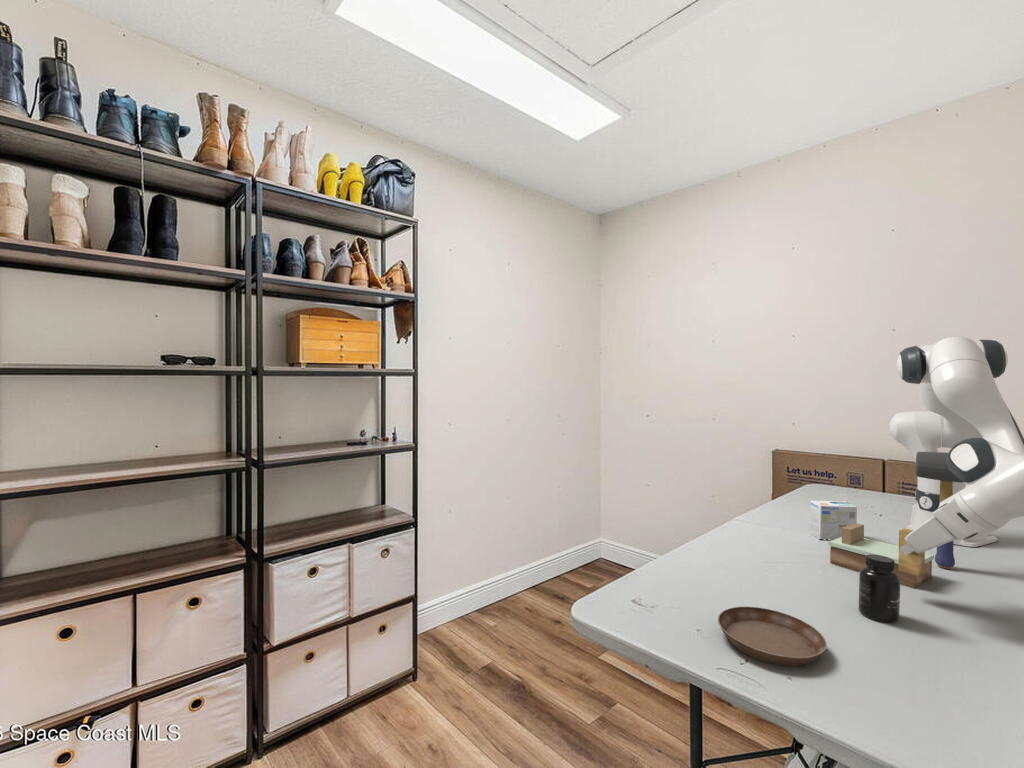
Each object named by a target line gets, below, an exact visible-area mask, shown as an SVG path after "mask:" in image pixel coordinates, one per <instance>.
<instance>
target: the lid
mask: <svg viewBox="0 0 1024 768" xmlns="http://www.w3.org/2000/svg"><path fill="white" fill-rule="evenodd" d="M828 546H829V547H831V546H833V547H836V548H840V549H844V550H848V551H851V552H855V553H859V554H863V555H869V554H874V555H881V556H885V557H889V558H891V559H893V560H894V561H895V563H896V564H899V545H895V544H891V543H887V542H883V541H879V540H874V539H870V538H865V525H864V524H861V523H858V522H857V523H854V524H851V525H849V526H846V527H843V528H842V537H840V538H837V539H835V540H828ZM931 560H935V555H934V554H933V553H928V552H925V564H926V563H927V562H929V561H931Z"/></svg>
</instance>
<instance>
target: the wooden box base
mask: <svg viewBox="0 0 1024 768" xmlns="http://www.w3.org/2000/svg"><path fill="white" fill-rule="evenodd" d="M829 553H830V555H829V556H830V557H829V558H830V559H829V561H830V562H829V564H830V563H832V564H831V565H833V564H835V565H834V566H837V565H838V566H837V567H840V566H841V567H840V568H843V567H844V569H847V568H848V569H847V570H850V569H851V570H850V571H853V572H857V573H860V570H861V569H862V568H863V567H866V565H865V561H866V555H863V554H859V553H855V552H851V551H848V550H844V549H840V548H836V547H833V546H830V551H829ZM932 566H933V561H932V560H931V561H929V562H927V563H926V564H925V572H924V573H923V574H921V575H919V576H917V575H913V574H910V573H906V572H902V571H899V570H898V564H896V563H895V570H894V571H893V572H894V573H896V574H897V575H898V576H899V578H900V586H901V585H902V586H905V587H908V588H912V589H916V588H918V587H919V586H921V585H923V584H924V583H926V582H928V581H929V580H931V579H932V572H933V569H932V568H933V567H932Z"/></svg>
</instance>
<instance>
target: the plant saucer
mask: <svg viewBox="0 0 1024 768" xmlns="http://www.w3.org/2000/svg"><path fill="white" fill-rule="evenodd" d="M717 622H718V623H717V624H718V625H719V627H720V629H721V631H722V632H723V634H724V635H725V637H726V638H727V639H728V641H729V642H730V643H731V644H732V645H733V646H734V647H735V648H737V649H738V650H739V651H741V652H742V653H744V654H746V655H747V656H750V657H752V658H754V659H756V660H759V661H762V662H765V663H769V664H774V665H777V666H785V667H799V666H803V665H808V664H810V663H811V662H814V661H816V660H817V659H818V658H819V657H821V656H822V655H823V654H824V652H825V651H826V650H827V647H828V645H827V640H826V639H825V637H824V635H823V634H822V633H821V632H820V631H818V630H817V629H816V628H815V627H813V625H810V624H809V623H807V622H806V621H803V620H801V619H799V618H797V617H795V616H792V615H790V614H787V613H783V612H780V611H777V610H773V609H769V608H763V607H755V606H734V607H729V608H726V609H724V610H722V611H721V612H720V613H719V614H718V617H717Z"/></svg>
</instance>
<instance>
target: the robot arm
mask: <svg viewBox="0 0 1024 768" xmlns="http://www.w3.org/2000/svg"><path fill="white" fill-rule="evenodd" d="M1008 363H1009V357H1008V353H1007V351H1006V349H1005V348H1004V345H1003V344H1002V343H1000V342H999V341H997V340H992V339H979V340H972V339H971V338H968V337H964V336H950V337H949V336H948V337H945V338H943V339H941V340H939V341H937V342H936V343H931V344H926V345H925V344H924V345H919V346H918V345H913V346H908V347H906V348H904V349H903V350H901V351H900V352H899V355H898V357H897V360H896V370H897V372H898V375H899V376H900V377H901V380H903V381H904V382H905V383H908V384H915V385H918V387H917V388H918V391H917V393H918V397H917V398H918V401H919V403H920V404H921V405H922V406H923V407H924V408H925V409H926V410H910V411H901V412H897V413H895V414H894V415H893V416H892V417H891V418H890V420H889V423H888V430H889V435H890V436H891V437H892V438H893V439H894V441H896V443H899V444H900V445H902V446H903V447H904V448H905V449H906V450H907V451H908V453H909V454H910V455H911V457H912V458H913V460H914V463H915V464H916V455H917V452H939V451H938V449H940V448H949V449H950V450H949V451H948V452H947V453H948V455H947V459H946V462H947V467H948V469H949V470H950V471H951V472H952V473H953V474H954V475H955V476H956V477H958V478H959V479H960V480H962V481H963V482H964V483H961V482H953V495H952V496H950V497H949V498H947V499H945V500H944V501H942V502H940V480H934V479H927V478H922V477H918V476H917V475H916V477H917V487H916V488H915V493H914V496H915V497H914V498H915V501H916V503H914V504H913V505H912V511H911V516H910V517H911V518H910V519H911V520H910V524H908V525H907V527H906V528H908V529H913V531H912V532H911V533H909V534H908V535H907V536H906V537H905V541H906V542H907V544H905V545H904V546H902V547H900V550H901V551H902V552H903V553H904V554H905V555H908V554H910V553H912V552H913V551H915V552H917V553H922V552H925V553H926V552H927V551H930V550H933V549H935V548H937V547H938V546H940V545H943V544H946V543H948V542H951V541H954V542H953V545H957V546H963V547H969V548H976V547H980V546H981V547H982V546H984V545H988V544H991V543H995V542H998V541H999V538H998V537H997V536H995V535H992V533H994V532H996V531H998V530H1000V529H1001V528H1003V527H1004V526H1005V525H1006V524H1007V523H1008V522H1010V521H1011V520H1014V519H1017V518H1020V517H1021V518H1022V517H1024V436H1023V434H1022V432H1021V429H1020V427H1019V425H1018V423H1017V421H1016V419H1015V418H1014V416H1013V414H1012V412H1011V410H1010V408H1009V407H1008V406H1007V404H1006V402H1005V400H1004V398H1003V396H1002V394H1001V392H1000V390H999V387H998V385H997V383H996V379H997V378H1000V377H1001V376H1002V375H1003V374H1004V373H1005V372H1006V368H1007V366H1008ZM939 503H940V504H939Z"/></svg>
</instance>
